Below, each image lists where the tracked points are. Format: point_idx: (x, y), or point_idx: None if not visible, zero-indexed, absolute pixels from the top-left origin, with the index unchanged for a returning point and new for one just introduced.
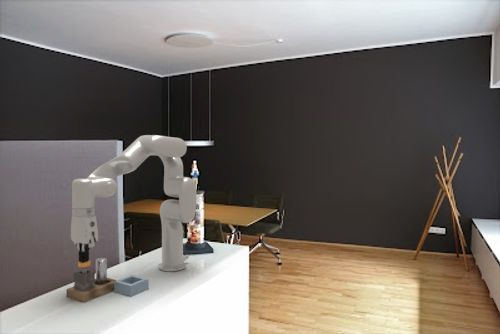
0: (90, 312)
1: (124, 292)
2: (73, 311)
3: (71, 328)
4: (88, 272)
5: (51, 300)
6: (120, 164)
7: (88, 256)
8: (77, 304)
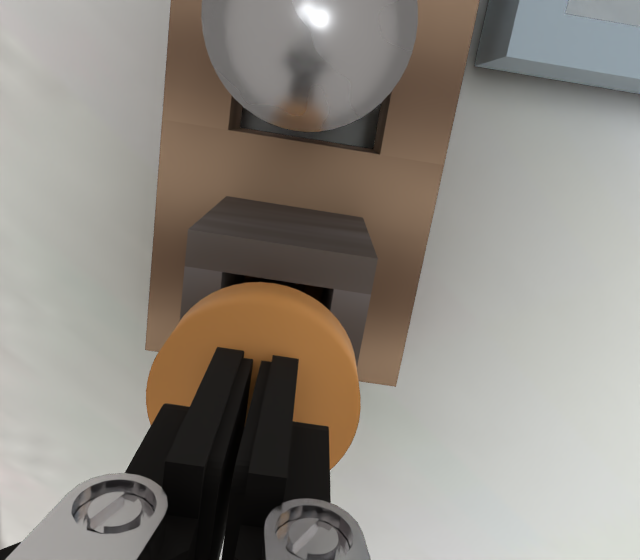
0: (542, 450)
1: (625, 89)
2: (417, 477)
3: None
4: (289, 277)
5: (112, 401)
6: None
7: (293, 400)
8: None
